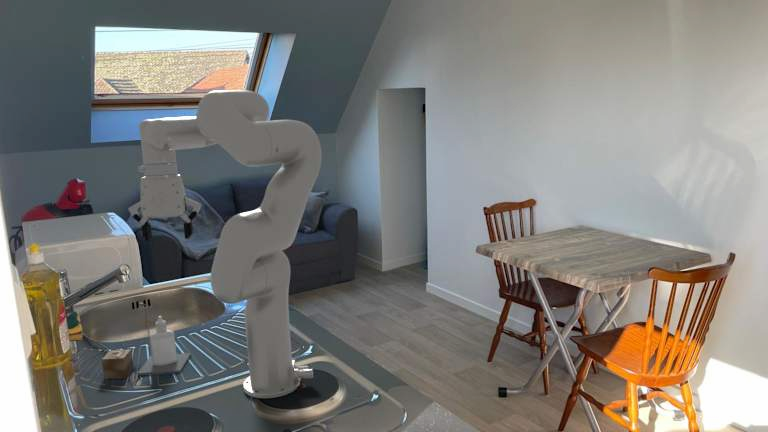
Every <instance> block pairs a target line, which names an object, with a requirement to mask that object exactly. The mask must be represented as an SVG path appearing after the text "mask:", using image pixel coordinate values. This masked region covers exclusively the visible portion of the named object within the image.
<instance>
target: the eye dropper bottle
mask: <svg viewBox="0 0 768 432" xmlns="http://www.w3.org/2000/svg"><path fill="white" fill-rule="evenodd" d="M154 325H155V331H154V332H152V333H150V336H149V342H150V351H151V352H150V353H151V356H152V360H153V365H154V366H163V365H169V364H172V363H175V362H176V361H177V354H178V353H177V347H176V338H175V337H176V336H175V332H174V331H173V330H172V329H168V327H167V321H166V320H165V319H163V317H162V315H159V316H158V317H157V321H156V322H155V323H154Z"/></svg>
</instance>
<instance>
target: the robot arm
mask: <svg viewBox="0 0 768 432" xmlns="http://www.w3.org/2000/svg"><path fill="white" fill-rule="evenodd" d="M267 101H268V100H266V98H265V97H264V96H262V95H261V94H260V93H258V92H255V91H253V90H247V89H246V90H245V89H236V90H235V89H234V90H233V89H232V90H230V89H226V90H224V89H223V90H221V89H220V90H212V91H210V92H209V91H208V93H206V94H204V95H203V97H202V98H201V99H200V101H198V102H199V103H198V106H197V111H196V115H195V116H178V117H177V116H176V117H162V118H154V119H153V118H152V119H151V118H149V119H143V120H141V121H140V123H139V124H138V125H139V137H140V145H141V152H142V161H143V163H142V165H141V166H138V167H137V171H138V172H139V173H143V175H144V176H143V177H141V178H140V200H139V201H138V202H136V203H134V204H132V205H131V206H129V207H128V209H127V210H128V211H129V213H130V215H131V216H132V218H133V219H134V220H135V221H136V222H137V223H138V224H139V225H140V226H141V233H142V237H143V238H144V240H145V242H148V241H150V240H151V239H153V233H152V227H151V226H152V225H151V223H150V222H149V221H150V220H151V219H155V218H156V219H157V218H173V217H174V218H175V217H176V218H177V217H180V218H181V219H182V220H183V221H184V223H183V233H184V239H190V238H191V237H192V235H193V231H194V230H193V221H194V219H195V218H196V217H197V216H198V215H199V212H200V209H201V207H202V203H201V202H198V201H196V200H193V199H191V198H189V197H187V194H186V190H185V185H184V183H183V179H182V175H181V174H178V173H179V172H178V165H177V156H176V154H177V153H176V151H180V150H189V149H190V150H191V149H200V148H206V147H210V146H213V145H217V144H218V145H219V146H220V147H221V148H222V149H224V151H226V152H227V153H228V155H230V156H231V157H232V158H233V159H234V160H235V161H237V162H238V163H240V164H241V165H244V166H246V167H250V168H252V167H253V168H258V167H259V168H260V167H263V166H264V167H265V166H273V165H278V164H281V165H280V168H279V169H278V170H277V171H276V172H275V174H274V175H273V176H272V177H271V179H270V181H269V183H268V184H267V187H266V189H265V191H264V192H265V193H264V197H263V200H262V201H261V203H260V206H258V207H257V208H255V209H254V210H250V211H245V212H240V213H237V214H235V215H232V217H230V218H229V219H228V220H227V221H226V223H225V224H224V226H223V227H222V230H221V233H220V236H219V239H218V242H217V248H216V251H215V255H214V259H213V263H212V266H211V271H210V287H211V290H212V293H213V295H214V297H215V298H216V299H217V300H218V301H220V302H222V303H224V304H229V305H231V304H232V305H233V304H238V303H241V302H244V301H246V303H245V307H244V324H245V325H244V326H245V337H246V348H247V360H248V372H249V376H248V377H247V378H246V379H245V380H244V382H243V391H244V392H245V394H246V395H248V396H250V397H252V398H257V399H275V398H280V397H283V396H287V395H289V394H291V393H293V392H294V391H296V390H297V389H298V388H299V387H300V385H301V383H300V381H301V379H312V378H314V369H313V368H309V365H302V366H298V365H296V361H295V360H296V359H293V353H292V341H291V339H292V338H291V329H290V326H291V325H290V312H289V309H290V308H289V291H290V289H289V288H290V280H291V264H290V260H289V257H288V256H287V255H286V253H285V252H284V250H286V249H288V248H290V247H291V245H292V244H293V243H294V241H295V238H296V236H297V233H298V230H299V227H300V224H301V222H302V218H303V215H304V212H305V210H306V206H307V203H308V199H309V197H310V195H311V192H312V190H313V187H314V185H315V183H316V181H317V178H318V177H319V173H320V170H321V166H322V153H323V152H322V147H321V142H320V140H319V136H318V135H317V133H316V132H315V130H314V129H313V128H312V126H310V125H309V124H308V123H306V122H303V121H300V120H293V119H274V120H268V119H269V116H270V106H269V103H268V102H267ZM188 206H190V207H192V208H193V209H192V212H191V213H189V212H188ZM139 208H140V210H141V211H140V212H141V214H140V213H139V211H138V209H139ZM298 386H299V387H298ZM297 387H298V388H297Z"/></svg>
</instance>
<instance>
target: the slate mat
mask: <svg viewBox="0 0 768 432" xmlns="http://www.w3.org/2000/svg"><path fill="white" fill-rule="evenodd" d="M191 353H192V352H186V353H176V354H177V361H176V362H175V363H172V364H169V365H163V366H154V365H153V360H152V355H150V356H149V358H147V360H146V361H145V363H144V364H143V365H142V367H141V368H140V369H139V370H138V372H137V373H136V375H137V376H152V375H153V376H154V375H164V374H165V375H166V374H167V375H168V374H180V373H181V372H183V369H184V368H185V366H186V365H187V363H188V361H189V359H190V358H191V356H192V354H191Z"/></svg>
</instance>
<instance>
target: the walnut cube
mask: <svg viewBox="0 0 768 432" xmlns="http://www.w3.org/2000/svg"><path fill="white" fill-rule="evenodd" d="M101 363H102V364H101V365H102V372H103V378H104V380H107V379H110V380H111V379H122V378H123V379H124V378H127V377H128V376H129V375H130V373H131V372H132V371H133V370H134V361H133V353H132V349H115V350H109V351H108V352H107V353H106V354H105V356H103V358H102V359H101Z"/></svg>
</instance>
